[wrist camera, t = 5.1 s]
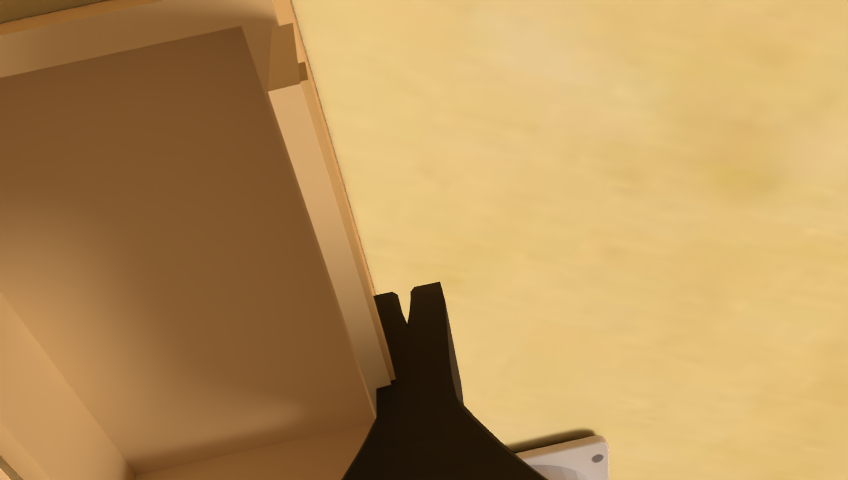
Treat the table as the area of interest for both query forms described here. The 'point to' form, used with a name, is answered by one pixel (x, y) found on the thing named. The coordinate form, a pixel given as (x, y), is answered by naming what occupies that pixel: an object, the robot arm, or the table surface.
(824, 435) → the table surface
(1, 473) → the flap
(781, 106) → the table surface
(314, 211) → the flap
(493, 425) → the table surface
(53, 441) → the carton
